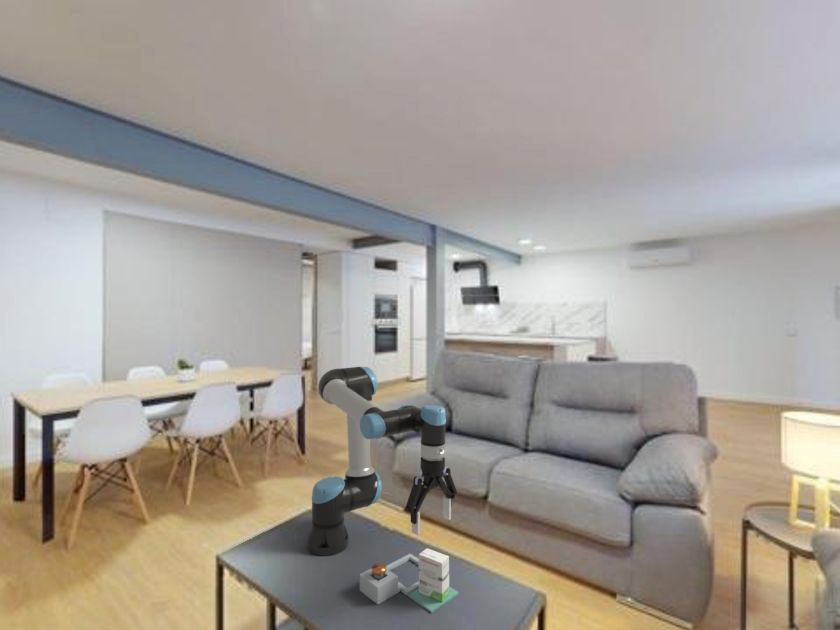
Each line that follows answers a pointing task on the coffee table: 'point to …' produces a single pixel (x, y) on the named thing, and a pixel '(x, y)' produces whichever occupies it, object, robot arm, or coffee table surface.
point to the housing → (386, 582)
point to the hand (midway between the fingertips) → (431, 525)
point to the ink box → (434, 574)
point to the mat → (431, 599)
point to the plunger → (378, 571)
